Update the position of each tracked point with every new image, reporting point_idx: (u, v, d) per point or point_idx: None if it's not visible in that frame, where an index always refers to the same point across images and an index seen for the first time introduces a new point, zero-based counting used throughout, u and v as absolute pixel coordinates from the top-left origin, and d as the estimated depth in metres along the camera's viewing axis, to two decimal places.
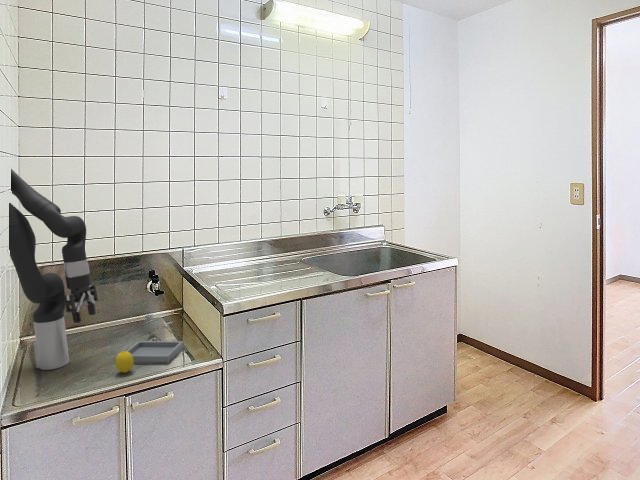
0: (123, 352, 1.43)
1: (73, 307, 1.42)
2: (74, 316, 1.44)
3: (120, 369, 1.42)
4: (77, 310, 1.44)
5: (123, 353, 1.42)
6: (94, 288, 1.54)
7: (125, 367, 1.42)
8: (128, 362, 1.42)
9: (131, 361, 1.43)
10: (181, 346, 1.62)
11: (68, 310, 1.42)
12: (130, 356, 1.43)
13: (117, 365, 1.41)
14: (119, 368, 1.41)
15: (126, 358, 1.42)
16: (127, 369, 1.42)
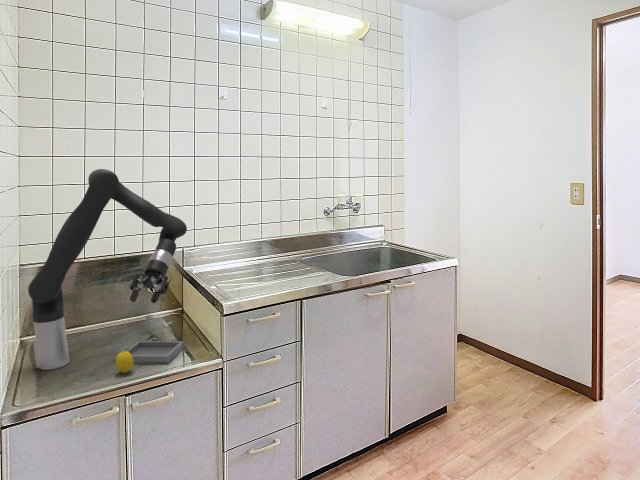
0: (123, 352, 1.43)
1: None
2: (157, 296, 1.52)
3: (120, 369, 1.42)
4: None
5: (123, 353, 1.42)
6: None
7: (125, 367, 1.42)
8: (128, 362, 1.42)
9: (131, 361, 1.43)
10: (181, 346, 1.62)
11: (164, 289, 1.53)
12: (130, 356, 1.43)
13: (117, 365, 1.41)
14: (119, 368, 1.41)
15: (126, 358, 1.42)
16: (127, 369, 1.42)
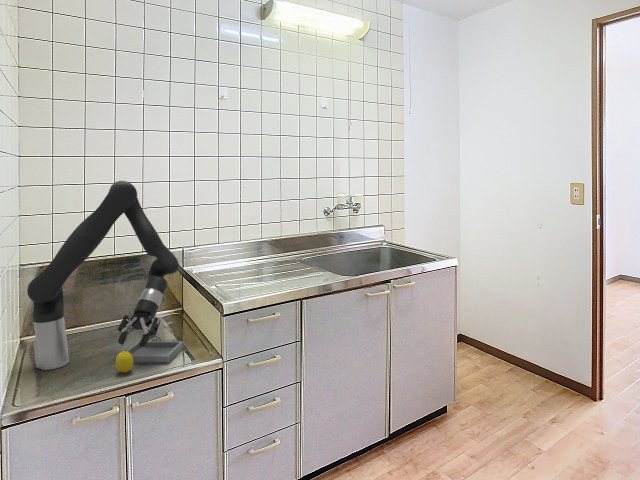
0: (123, 352, 1.43)
1: None
2: (146, 339, 1.47)
3: (120, 369, 1.42)
4: None
5: (123, 353, 1.42)
6: None
7: (125, 367, 1.42)
8: (128, 362, 1.42)
9: (131, 361, 1.43)
10: (181, 346, 1.62)
11: (153, 331, 1.48)
12: (130, 356, 1.43)
13: (117, 365, 1.41)
14: (119, 368, 1.41)
15: (126, 358, 1.42)
16: (127, 369, 1.42)
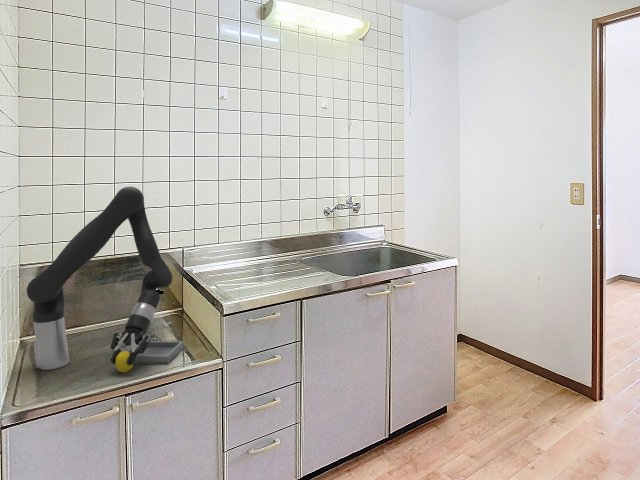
0: (123, 352, 1.43)
1: None
2: (134, 357, 1.42)
3: (120, 369, 1.42)
4: None
5: (123, 353, 1.42)
6: None
7: (125, 367, 1.42)
8: None
9: None
10: (181, 346, 1.62)
11: (141, 349, 1.43)
12: None
13: (117, 365, 1.41)
14: (119, 368, 1.41)
15: (126, 358, 1.42)
16: (127, 369, 1.42)
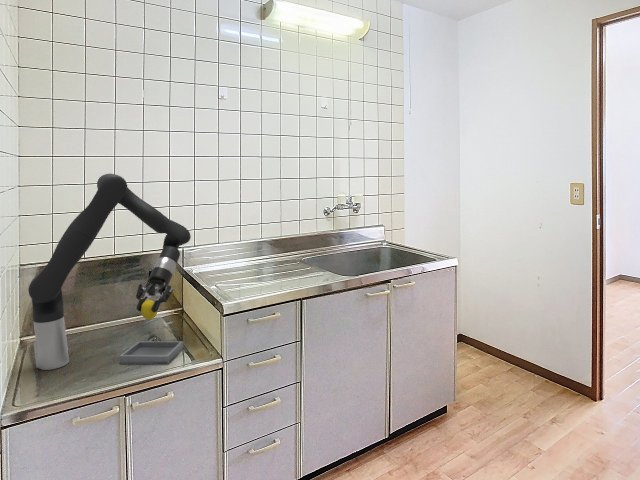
0: (148, 300, 1.54)
1: None
2: (158, 305, 1.54)
3: (145, 316, 1.53)
4: None
5: (148, 301, 1.54)
6: None
7: (150, 314, 1.53)
8: None
9: None
10: (181, 346, 1.62)
11: (164, 298, 1.55)
12: None
13: (143, 312, 1.53)
14: (144, 315, 1.53)
15: (151, 305, 1.53)
16: (152, 316, 1.54)
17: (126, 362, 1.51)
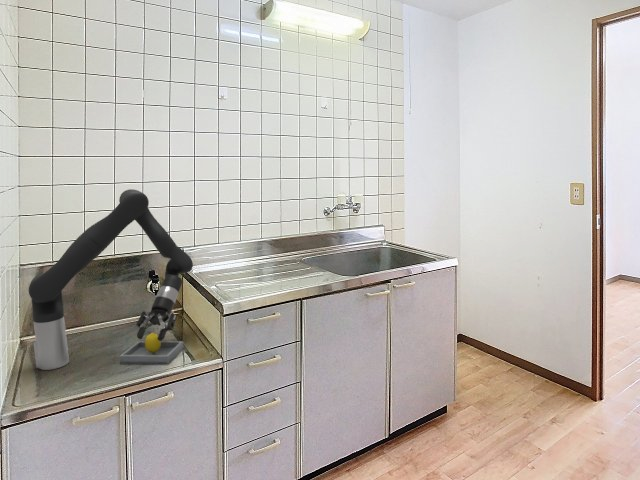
0: (152, 334, 1.56)
1: None
2: (164, 333, 1.56)
3: (149, 349, 1.55)
4: None
5: (152, 335, 1.56)
6: None
7: (154, 347, 1.55)
8: (156, 343, 1.56)
9: (159, 342, 1.57)
10: (181, 346, 1.62)
11: (170, 326, 1.56)
12: None
13: (146, 345, 1.55)
14: (148, 348, 1.55)
15: (154, 339, 1.55)
16: (155, 349, 1.56)
17: (126, 362, 1.51)
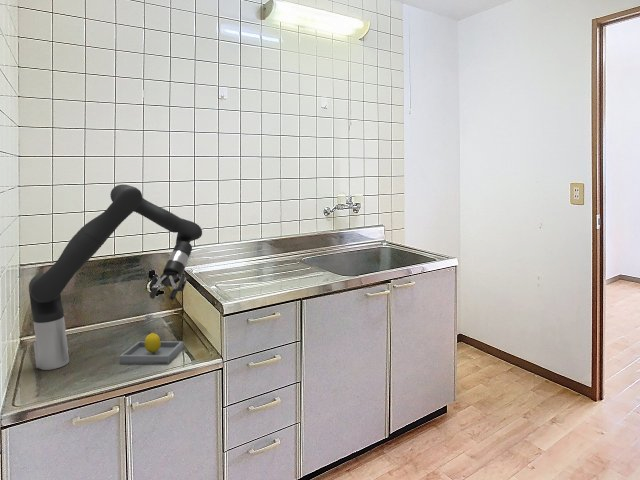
0: (151, 334, 1.56)
1: None
2: (175, 293, 1.65)
3: (149, 349, 1.55)
4: None
5: (151, 335, 1.56)
6: None
7: (153, 347, 1.55)
8: (156, 343, 1.56)
9: (159, 342, 1.57)
10: (181, 346, 1.62)
11: (181, 287, 1.66)
12: (158, 338, 1.57)
13: (146, 346, 1.55)
14: (148, 348, 1.55)
15: (154, 339, 1.55)
16: (155, 349, 1.56)
17: (126, 362, 1.51)
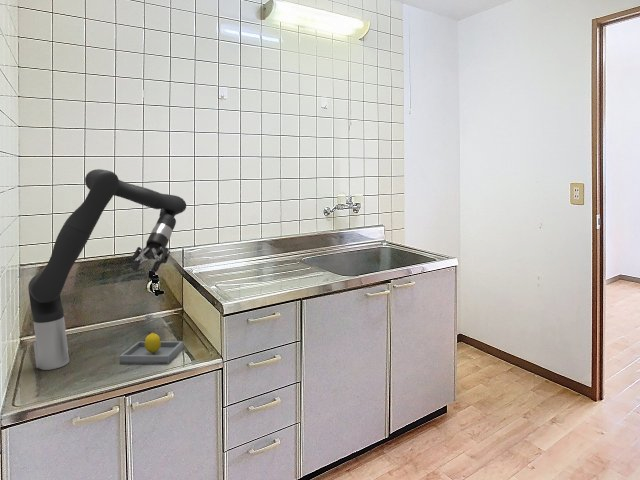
0: (151, 334, 1.56)
1: None
2: (158, 265, 1.63)
3: (149, 349, 1.55)
4: None
5: (152, 335, 1.56)
6: None
7: (153, 348, 1.55)
8: (156, 343, 1.56)
9: (159, 342, 1.57)
10: (181, 346, 1.62)
11: (164, 259, 1.63)
12: (158, 338, 1.57)
13: (146, 346, 1.55)
14: (148, 348, 1.55)
15: (154, 339, 1.55)
16: (155, 349, 1.56)
17: (126, 362, 1.51)
